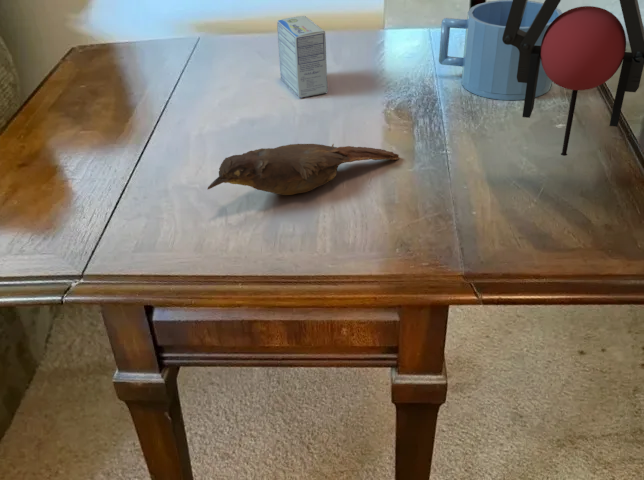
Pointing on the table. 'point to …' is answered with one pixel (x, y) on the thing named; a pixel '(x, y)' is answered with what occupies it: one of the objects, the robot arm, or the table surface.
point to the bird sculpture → (292, 166)
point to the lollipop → (582, 52)
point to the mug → (492, 51)
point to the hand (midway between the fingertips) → (570, 116)
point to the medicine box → (302, 56)
